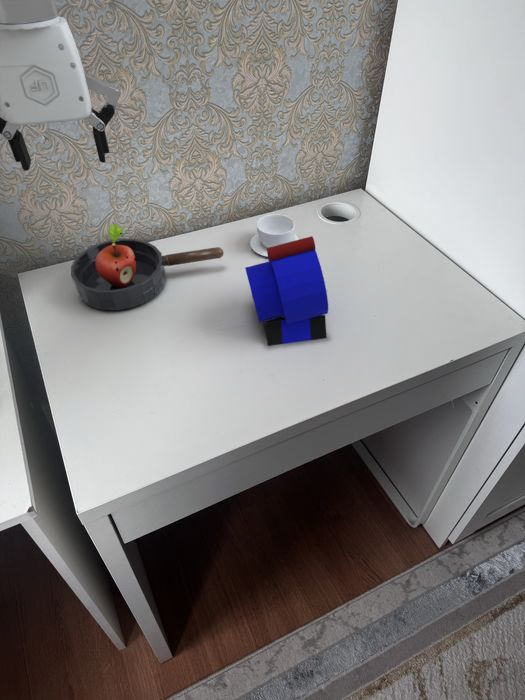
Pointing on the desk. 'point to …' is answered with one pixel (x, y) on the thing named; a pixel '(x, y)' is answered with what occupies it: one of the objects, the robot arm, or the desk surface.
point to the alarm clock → (290, 292)
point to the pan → (111, 297)
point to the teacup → (272, 232)
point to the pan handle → (192, 256)
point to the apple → (116, 261)
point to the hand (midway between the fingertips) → (65, 162)
